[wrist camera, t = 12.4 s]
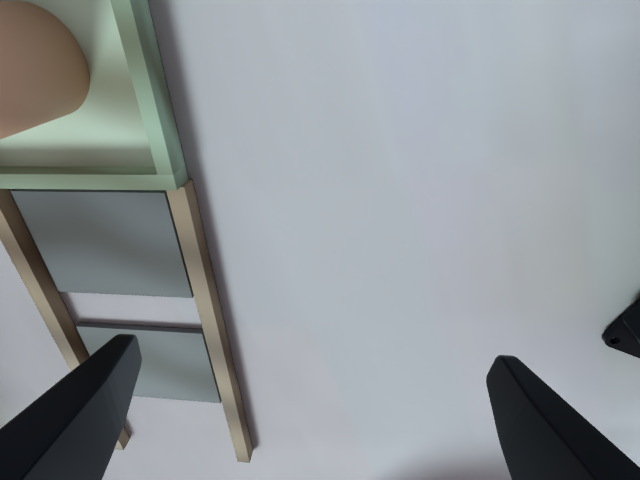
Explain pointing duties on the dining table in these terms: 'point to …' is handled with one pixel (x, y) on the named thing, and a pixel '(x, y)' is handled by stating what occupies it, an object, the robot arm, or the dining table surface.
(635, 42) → the dining table surface
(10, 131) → the peach capsule
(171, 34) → the dining table surface
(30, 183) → the frame
